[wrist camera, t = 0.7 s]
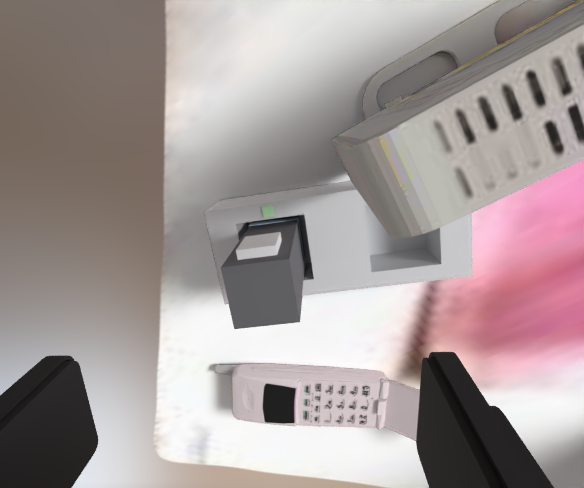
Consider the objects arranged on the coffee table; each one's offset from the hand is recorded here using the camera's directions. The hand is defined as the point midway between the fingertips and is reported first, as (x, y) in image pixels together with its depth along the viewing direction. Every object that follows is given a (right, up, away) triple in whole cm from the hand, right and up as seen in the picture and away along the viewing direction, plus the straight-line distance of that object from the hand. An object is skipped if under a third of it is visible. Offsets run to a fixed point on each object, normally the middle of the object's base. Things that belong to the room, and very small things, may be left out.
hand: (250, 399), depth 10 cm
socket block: (+5, +6, +23) cm, 24 cm away
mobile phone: (+6, -11, +29) cm, 31 cm away
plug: (0, +5, +23) cm, 23 cm away
